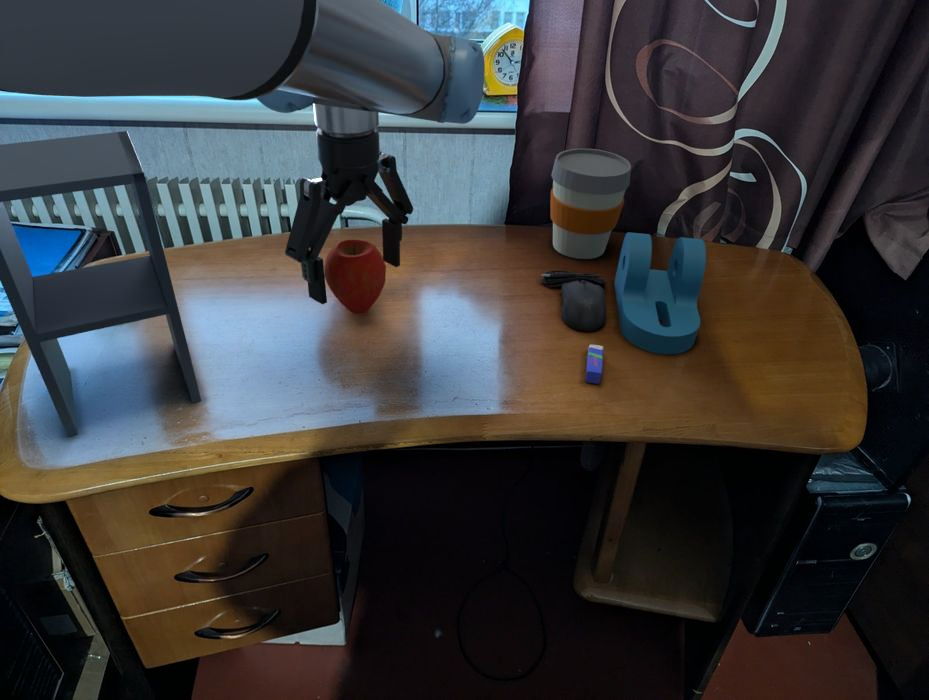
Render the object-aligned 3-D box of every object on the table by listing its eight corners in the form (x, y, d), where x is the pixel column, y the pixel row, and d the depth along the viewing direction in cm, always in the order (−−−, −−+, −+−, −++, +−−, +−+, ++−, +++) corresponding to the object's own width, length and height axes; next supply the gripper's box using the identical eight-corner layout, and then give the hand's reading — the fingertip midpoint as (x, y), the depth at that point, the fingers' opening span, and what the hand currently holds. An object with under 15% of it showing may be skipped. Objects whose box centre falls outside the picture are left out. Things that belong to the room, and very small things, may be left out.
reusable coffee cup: (630, 250, 113) (649, 166, 104) (581, 272, 106) (597, 183, 97) (575, 223, 120) (589, 142, 112) (527, 242, 114) (537, 157, 105)
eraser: (601, 357, 88) (604, 345, 87) (599, 385, 83) (602, 373, 82) (587, 355, 88) (589, 343, 87) (583, 382, 84) (586, 370, 82)
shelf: (201, 400, 77) (143, 171, 61) (67, 437, 72) (-37, 195, 55) (182, 345, 86) (127, 130, 69) (61, 374, 80) (-32, 147, 63)
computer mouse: (549, 331, 92) (553, 308, 90) (539, 278, 104) (542, 257, 102) (621, 334, 93) (626, 311, 90) (602, 280, 104) (607, 259, 102)
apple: (314, 310, 94) (307, 242, 87) (360, 288, 99) (357, 223, 92) (354, 335, 89) (350, 265, 83) (400, 311, 95) (399, 244, 88)
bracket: (614, 282, 104) (627, 221, 98) (681, 289, 103) (699, 228, 97) (622, 349, 90) (638, 283, 83) (700, 358, 89) (722, 292, 83)
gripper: (398, 99, 88) (400, 241, 101) (238, 144, 73) (264, 305, 85) (440, 113, 84) (437, 258, 97) (281, 163, 69) (301, 329, 82)
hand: (356, 280), depth 91 cm, fingers open, 13 cm apart
